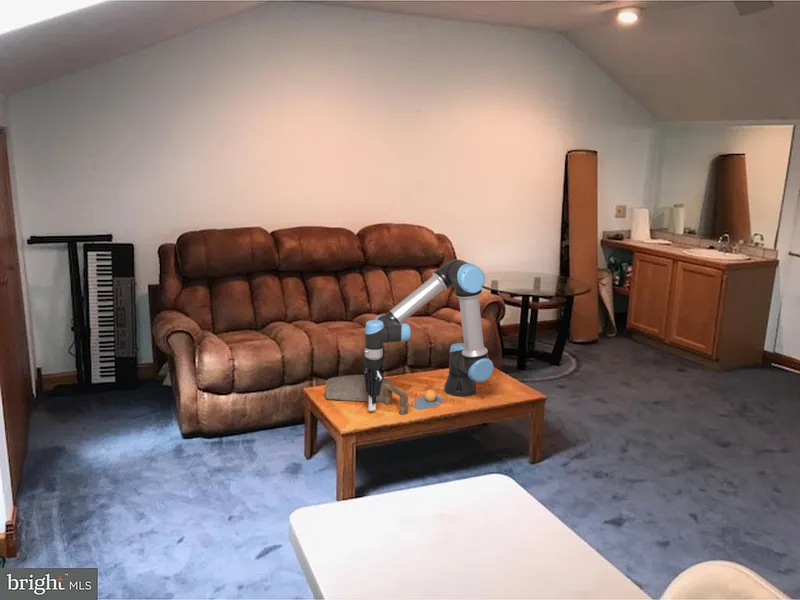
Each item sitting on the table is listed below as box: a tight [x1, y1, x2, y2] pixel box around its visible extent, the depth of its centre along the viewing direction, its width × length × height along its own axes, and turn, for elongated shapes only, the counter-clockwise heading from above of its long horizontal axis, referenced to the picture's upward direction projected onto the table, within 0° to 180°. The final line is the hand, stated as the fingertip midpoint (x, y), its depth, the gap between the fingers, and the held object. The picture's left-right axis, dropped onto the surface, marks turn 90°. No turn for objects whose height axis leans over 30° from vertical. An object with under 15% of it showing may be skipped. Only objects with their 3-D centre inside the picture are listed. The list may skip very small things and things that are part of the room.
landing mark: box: [408, 395, 441, 411], centre depth 305 cm, size 12×12×1 cm
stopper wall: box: [434, 393, 445, 405], centre depth 309 cm, size 1×10×2 cm, turn 33°
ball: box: [423, 389, 437, 402], centre depth 306 cm, size 6×6×6 cm
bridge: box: [383, 382, 409, 416], centre depth 296 cm, size 3×14×9 cm, turn 33°
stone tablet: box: [325, 374, 392, 403], centre depth 312 cm, size 20×8×30 cm
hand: (372, 409), depth 290 cm, fingers closed
